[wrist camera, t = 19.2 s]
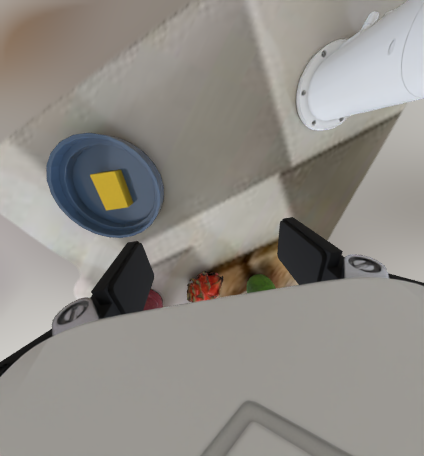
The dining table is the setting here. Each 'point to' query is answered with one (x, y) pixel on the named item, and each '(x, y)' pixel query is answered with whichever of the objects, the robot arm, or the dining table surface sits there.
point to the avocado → (259, 283)
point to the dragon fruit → (204, 287)
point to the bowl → (86, 191)
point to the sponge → (112, 189)
